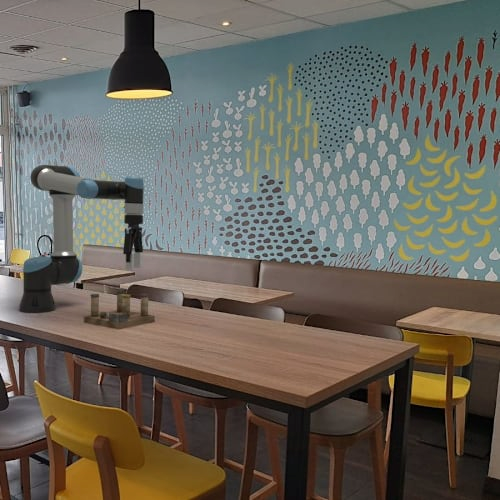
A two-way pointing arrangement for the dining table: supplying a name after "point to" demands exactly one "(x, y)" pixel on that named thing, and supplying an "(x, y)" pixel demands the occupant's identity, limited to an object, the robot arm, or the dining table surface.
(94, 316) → the stool seat
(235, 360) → the dining table surface
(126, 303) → the swing leg
